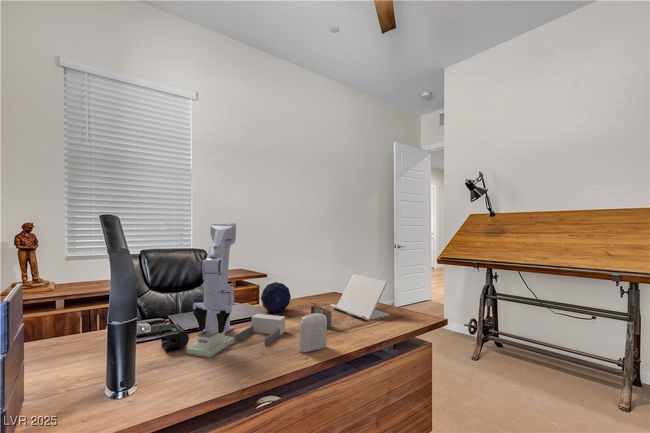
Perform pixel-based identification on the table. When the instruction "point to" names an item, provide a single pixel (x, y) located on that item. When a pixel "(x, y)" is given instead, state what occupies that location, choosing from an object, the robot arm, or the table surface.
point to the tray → (204, 353)
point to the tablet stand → (362, 297)
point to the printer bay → (264, 327)
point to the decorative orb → (275, 297)
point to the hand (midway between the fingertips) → (211, 331)
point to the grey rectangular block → (210, 339)
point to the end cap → (174, 338)
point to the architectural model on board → (322, 311)
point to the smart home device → (158, 329)
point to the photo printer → (312, 332)
